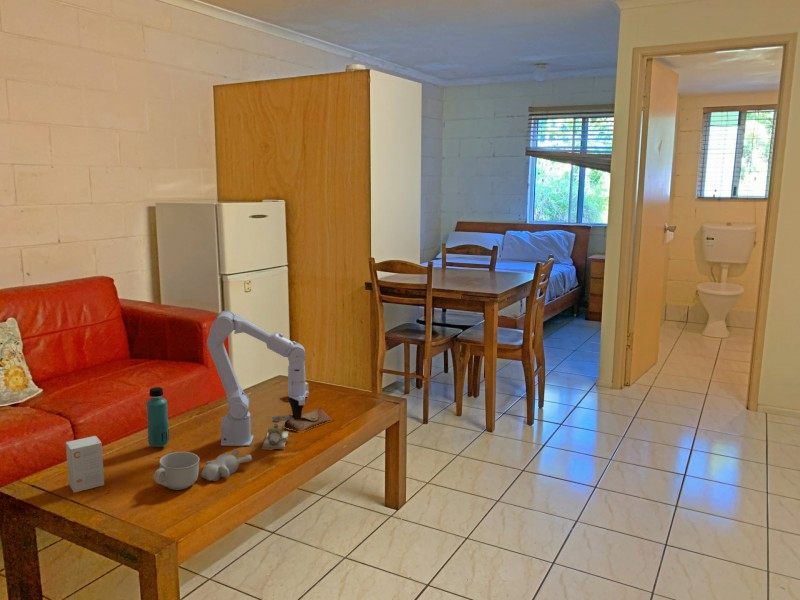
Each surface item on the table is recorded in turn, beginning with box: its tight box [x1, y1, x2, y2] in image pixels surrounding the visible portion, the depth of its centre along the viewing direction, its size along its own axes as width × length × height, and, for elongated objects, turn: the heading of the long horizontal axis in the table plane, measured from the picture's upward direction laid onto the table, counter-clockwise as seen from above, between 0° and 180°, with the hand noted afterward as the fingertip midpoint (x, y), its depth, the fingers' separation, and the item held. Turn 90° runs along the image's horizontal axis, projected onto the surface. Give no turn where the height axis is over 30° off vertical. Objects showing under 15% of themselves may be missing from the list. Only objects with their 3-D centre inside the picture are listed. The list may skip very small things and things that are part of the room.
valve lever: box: [271, 412, 303, 424], centre depth 214 cm, size 10×2×2 cm, turn 124°
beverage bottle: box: [145, 386, 170, 448], centre depth 204 cm, size 6×7×20 cm
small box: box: [65, 435, 105, 494], centre depth 179 cm, size 8×6×13 cm
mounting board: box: [261, 430, 290, 450], centre depth 213 cm, size 13×7×1 cm, turn 3°
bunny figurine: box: [199, 449, 253, 482], centre depth 190 cm, size 10×5×15 cm
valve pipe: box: [267, 423, 284, 446], centre depth 213 cm, size 11×4×6 cm, turn 3°
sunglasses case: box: [284, 407, 332, 431], centre depth 230 cm, size 18×7×7 cm, turn 143°
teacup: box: [153, 451, 200, 491], centre depth 180 cm, size 14×11×8 cm
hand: (297, 418), depth 215 cm, fingers closed, pressing on valve lever
